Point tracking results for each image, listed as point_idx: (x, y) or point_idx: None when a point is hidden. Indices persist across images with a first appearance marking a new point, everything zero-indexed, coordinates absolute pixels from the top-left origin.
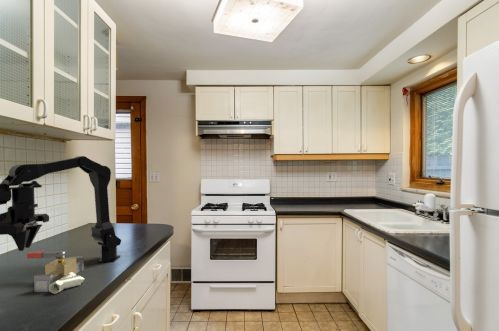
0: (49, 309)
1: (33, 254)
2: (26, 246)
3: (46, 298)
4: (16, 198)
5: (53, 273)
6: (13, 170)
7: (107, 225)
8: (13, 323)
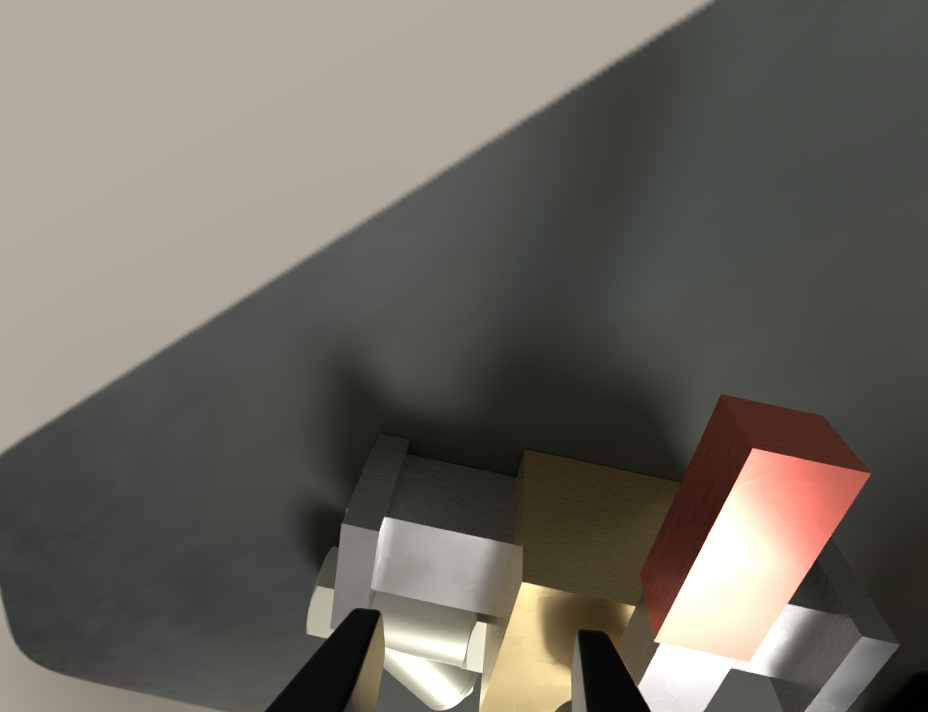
0: (144, 593)
1: (695, 528)
2: (573, 670)
3: (270, 539)
4: None
5: (499, 574)
6: None
7: None
8: (2, 496)
